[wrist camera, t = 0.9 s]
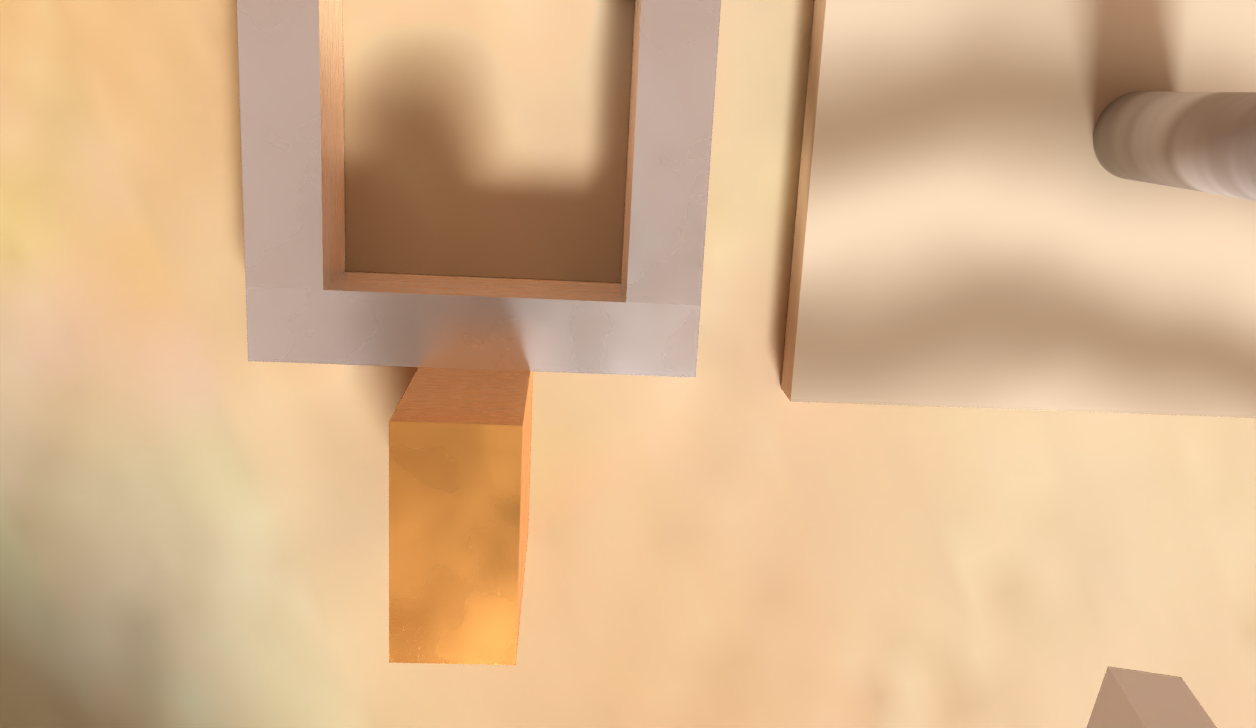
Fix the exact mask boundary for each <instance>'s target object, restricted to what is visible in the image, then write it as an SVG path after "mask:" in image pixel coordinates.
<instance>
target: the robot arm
mask: <svg viewBox="0 0 1256 728" xmlns="http://www.w3.org/2000/svg"><path fill="white" fill-rule="evenodd" d="M1087 728H1217V727H1216V726H1215V725H1214V723H1213V722H1212V720H1211V719H1210V717H1209V716H1208V715H1207V713H1206V712H1205V710H1204V709H1203V708H1202V706H1201V705H1200V703H1199V702H1198V700H1197V699H1196V698H1195V696H1194V695H1193V693H1192V692H1191V690H1190V689H1189V688H1188V686H1187V685H1186V683H1185V682H1184V681H1183V679H1182V678H1181V677H1177V676H1170V675H1163V674H1156V673H1149V672H1143V671H1136V670H1129V669H1122V668H1116V667H1109V666H1108V668H1107V671H1106V674H1105V676H1104V679H1103V682H1102V685H1101V688H1100V691H1099V694H1098V697H1097V699H1096V702H1095V705H1094V708H1093V711H1092V714H1091V717H1090V720H1089V722H1088V725H1087Z"/></svg>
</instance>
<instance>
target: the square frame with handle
mask: <svg viewBox="0 0 1256 728" xmlns="http://www.w3.org/2000/svg"><path fill="white" fill-rule="evenodd" d="M720 8H721V0H635V17H634V37H633V57H632V77H631V97H630V117H629V137H628V157H627V177H626V197H625V217H624V237H623V257H622V277H621V283H604V282H580V281H556V280H532V279H508V278H484V277H460V276H436V275H412V274H388V273H364V272H345V183H344V83H343V0H237V27H238V58H239V90H240V121H241V153H242V184H243V216H244V247H245V279H246V310H247V342H248V361H263V362H291V363H318V364H345V365H372V366H400V367H418V369H417V371H416V373H415V375H414V376H413V378H412V380H411V382H410V384H409V386H408V387H407V389H406V391H405V393H404V395H403V397H402V399H401V400H400V402H399V404H398V406H397V408H396V410H395V412H394V413H393V415H392V417H391V419H390V421H389V662H396V663H444V664H493V665H516V656H517V645H518V635H519V624H520V613H521V603H522V592H523V582H524V571H525V560H526V550H527V539H528V515H529V483H530V451H531V420H532V388H533V371H536V372H564V373H591V374H618V375H645V376H673V377H696V363H697V348H698V334H699V319H700V304H701V289H702V274H703V260H704V245H705V230H706V215H707V200H708V185H709V171H710V156H711V141H712V126H713V111H714V97H715V82H716V67H717V52H718V37H719V23H720Z"/></svg>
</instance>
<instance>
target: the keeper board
mask: <svg viewBox="0 0 1256 728" xmlns="http://www.w3.org/2000/svg"><path fill="white" fill-rule="evenodd" d="M781 389H782V390H783V391H784V393H785V394H786V396H787V397H788V399H789V400H790V401H793V402H822V403H850V404H878V405H906V406H934V407H962V408H991V409H1019V410H1047V411H1075V412H1103V413H1131V414H1160V415H1188V416H1216V417H1244V418H1256V0H815V1H814V13H813V24H812V36H811V47H810V59H809V70H808V82H807V93H806V105H805V117H804V128H803V140H802V151H801V163H800V174H799V186H798V197H797V209H796V220H795V232H794V243H793V255H792V267H791V278H790V290H789V301H788V313H787V324H786V336H785V347H784V359H783V370H782V382H781Z"/></svg>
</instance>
